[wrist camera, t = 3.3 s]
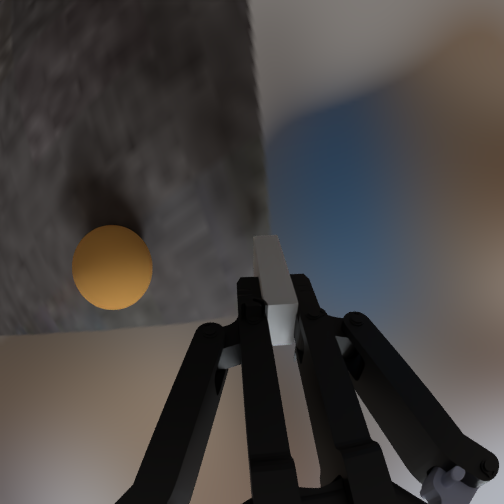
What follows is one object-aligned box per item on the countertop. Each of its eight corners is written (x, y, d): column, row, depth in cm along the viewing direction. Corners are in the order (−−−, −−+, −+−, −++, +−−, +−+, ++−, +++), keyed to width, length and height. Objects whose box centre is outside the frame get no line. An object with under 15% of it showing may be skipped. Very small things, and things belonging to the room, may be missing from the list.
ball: (82, 214, 19) (46, 254, 14) (153, 208, 19) (130, 250, 14) (100, 278, 21) (76, 325, 17) (165, 276, 22) (151, 328, 17)
